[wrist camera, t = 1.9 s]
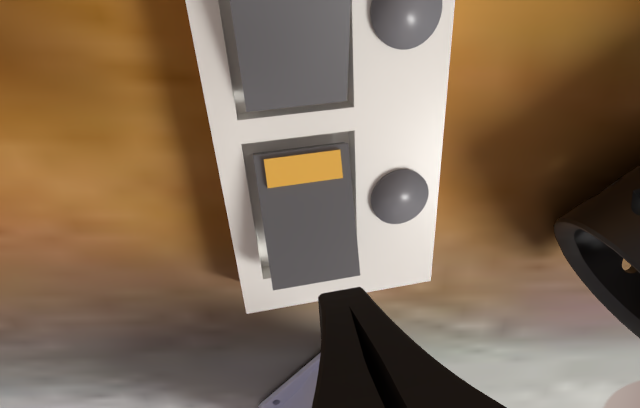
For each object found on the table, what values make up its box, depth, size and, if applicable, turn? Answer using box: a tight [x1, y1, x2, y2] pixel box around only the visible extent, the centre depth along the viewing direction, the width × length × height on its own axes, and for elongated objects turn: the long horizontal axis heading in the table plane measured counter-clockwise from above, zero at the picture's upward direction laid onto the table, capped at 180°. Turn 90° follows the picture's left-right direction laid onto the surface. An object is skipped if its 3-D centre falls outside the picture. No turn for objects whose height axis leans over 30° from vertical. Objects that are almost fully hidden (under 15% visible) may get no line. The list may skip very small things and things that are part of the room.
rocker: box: [253, 142, 360, 290], centre depth 18 cm, size 6×4×1 cm, turn 3°
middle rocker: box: [230, 0, 351, 112], centre depth 14 cm, size 6×4×1 cm, turn 4°
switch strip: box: [185, 0, 455, 314], centre depth 16 cm, size 27×10×3 cm, turn 4°
